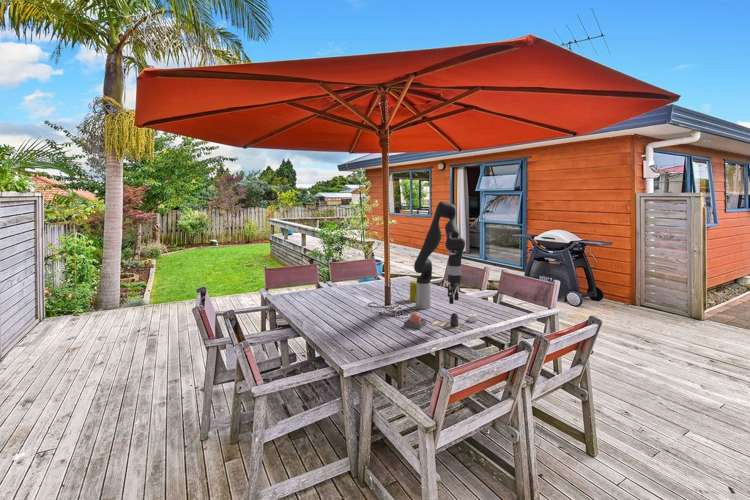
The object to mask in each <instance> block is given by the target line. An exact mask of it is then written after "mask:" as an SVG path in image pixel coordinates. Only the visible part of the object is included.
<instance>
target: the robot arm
mask: <svg viewBox="0 0 750 500" xmlns="http://www.w3.org/2000/svg"><path fill="white" fill-rule="evenodd" d="M441 218H445V219H449V220H448V222H447V223H446V224H445V226H444V229H445V234H446V240H445V243H444V244H445V248H446V251H447V250H448V251H454V252H455V251H456V253H452V254H450V255H449V256H448V257H447V258H448V259H447V260H448V261H447V262H448V263H447V282H448V283H449V284H450V285H448V286H447V297H448V300H449V301H448V303H449V304H450V305H453V304H454V303H455V301H457V302H458V301H459V299H460V298H459V296H460V295H459V294H460V293H461V282H462V257H463V253H464V250H465V247H466V241H465V239H464V238H462V237H460V232H459V228H458V225H457V209H456V205H454V204H452V203H450V202H449V203H448V202H445V201H439V202H438V204H437V205H436V208H435V211H434V215H433V218H432V222H431V224H430V226H429V229H428V231H427V234H426V236H425V238H424V241H423V244H422V246H421V249H420V251H419V253H418V255H417V257H416V259H415V261H414V264H413V269H414V272H416V273H418V274H420V276H418V277H417V278H416V281H417V293H416V301H415V308H417V309H418V310H419V309H420V310H428V309H431V280H432V279H433V277H432V276H433V263H432V261H431V259H429V257H430V256H431V255H432V254H433V252H435V251H436V249H437V248H438V247H439V245H440V242H441V240H442V232H441V231H442V230H441V227H440V219H441Z"/></svg>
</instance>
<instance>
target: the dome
mask: <svg viewBox="0 0 750 500" xmlns="http://www.w3.org/2000/svg"><path fill="white" fill-rule="evenodd" d="M409 318H410V322H414V323H420V322H421V319H422V318H421V315H420V314H419V313H418V312H413V313H412V314H410V316H409Z"/></svg>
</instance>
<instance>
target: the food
mask: <svg viewBox="0 0 750 500" xmlns="http://www.w3.org/2000/svg"><path fill="white" fill-rule="evenodd" d="M416 293H417V280H411V281H410V283H409V301H410V302H415V303H416Z"/></svg>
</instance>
